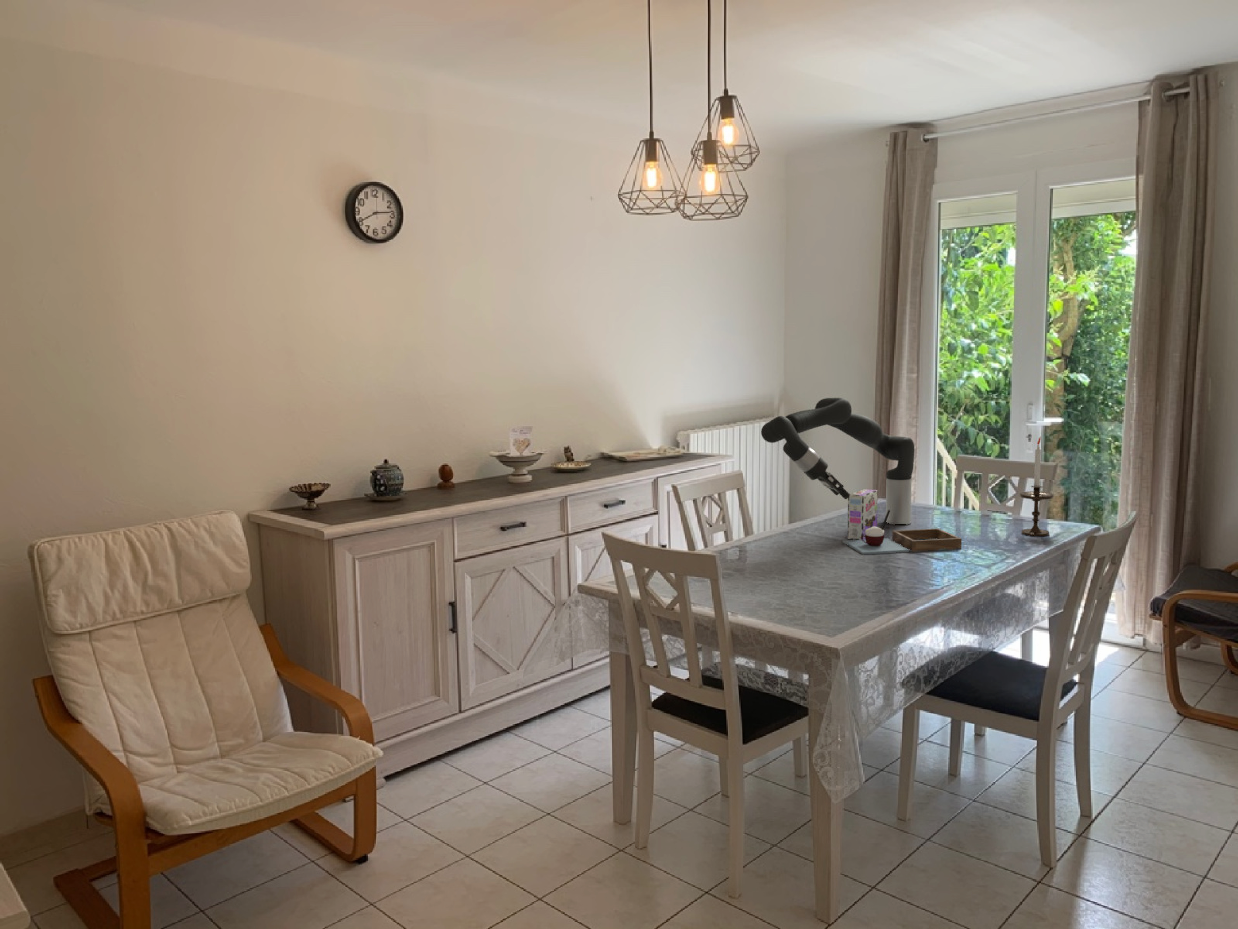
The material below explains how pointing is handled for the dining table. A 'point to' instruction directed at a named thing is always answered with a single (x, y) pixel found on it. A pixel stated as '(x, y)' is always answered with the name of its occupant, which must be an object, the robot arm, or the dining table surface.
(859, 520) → the candy box
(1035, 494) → the candlestick
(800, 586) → the dining table surface
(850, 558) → the dining table surface
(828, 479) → the robot arm
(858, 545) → the board
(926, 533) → the bin
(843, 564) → the dining table surface
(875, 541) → the cocoa
